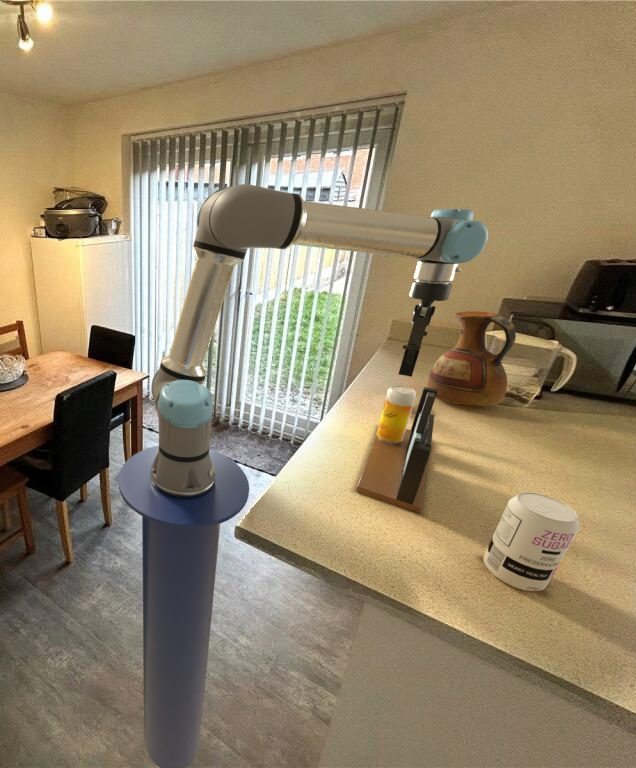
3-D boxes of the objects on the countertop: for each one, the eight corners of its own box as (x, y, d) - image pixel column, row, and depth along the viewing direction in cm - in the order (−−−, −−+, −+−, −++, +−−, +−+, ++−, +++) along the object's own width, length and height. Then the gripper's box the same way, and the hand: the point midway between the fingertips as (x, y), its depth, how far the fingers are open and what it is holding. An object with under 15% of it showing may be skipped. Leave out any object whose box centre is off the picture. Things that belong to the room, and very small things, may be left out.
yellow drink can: (375, 431, 111) (388, 383, 105) (400, 436, 108) (415, 387, 102) (376, 441, 106) (390, 391, 100) (403, 447, 103) (418, 396, 97)
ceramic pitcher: (439, 384, 144) (465, 303, 132) (509, 404, 128) (546, 314, 116) (412, 396, 135) (437, 310, 123) (484, 420, 119) (521, 324, 107)
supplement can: (501, 550, 74) (532, 485, 68) (556, 586, 66) (596, 517, 60) (470, 561, 71) (499, 495, 65) (524, 600, 64) (563, 530, 58)
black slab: (400, 482, 88) (426, 401, 80) (407, 450, 99) (430, 377, 91) (407, 484, 87) (433, 403, 79) (413, 452, 99) (436, 378, 91)
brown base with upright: (356, 491, 90) (371, 434, 84) (379, 426, 116) (391, 379, 110) (419, 513, 83) (440, 452, 77) (428, 439, 110) (444, 389, 104)
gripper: (452, 290, 79) (422, 386, 88) (453, 276, 97) (428, 356, 106) (408, 287, 84) (383, 378, 92) (417, 274, 102) (395, 351, 110)
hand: (407, 367), depth 99 cm, fingers open, 13 cm apart
